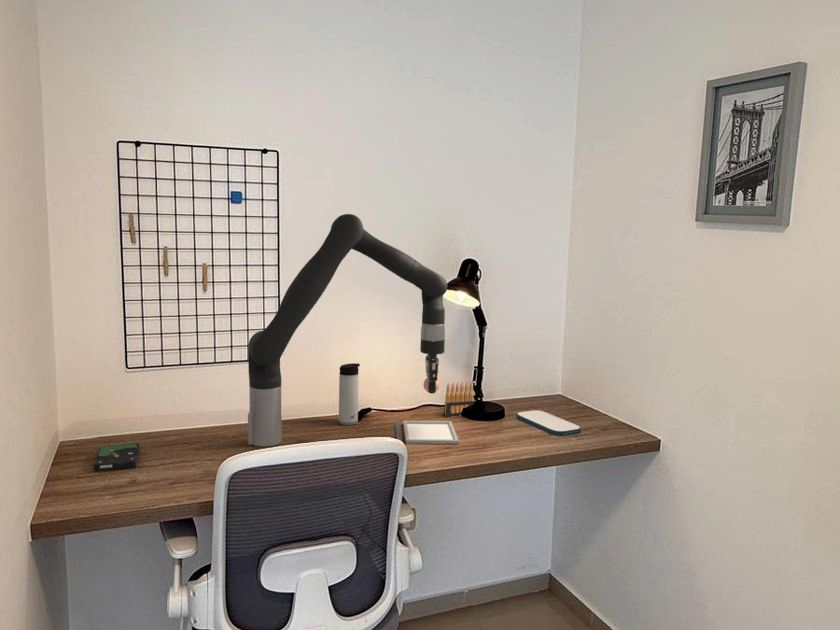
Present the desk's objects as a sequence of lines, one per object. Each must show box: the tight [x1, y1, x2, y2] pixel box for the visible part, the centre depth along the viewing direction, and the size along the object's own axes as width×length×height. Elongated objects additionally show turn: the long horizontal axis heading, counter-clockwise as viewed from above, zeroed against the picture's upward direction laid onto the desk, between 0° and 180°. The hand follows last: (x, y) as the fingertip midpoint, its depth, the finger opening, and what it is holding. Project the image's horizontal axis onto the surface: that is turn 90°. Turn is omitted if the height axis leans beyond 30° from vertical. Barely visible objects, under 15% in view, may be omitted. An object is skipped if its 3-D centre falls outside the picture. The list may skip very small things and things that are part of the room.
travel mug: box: [338, 362, 361, 426], centre depth 219 cm, size 6×7×20 cm
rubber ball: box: [423, 377, 440, 393], centre depth 209 cm, size 5×5×5 cm
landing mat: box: [394, 420, 460, 445], centre depth 211 cm, size 19×22×1 cm
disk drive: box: [93, 442, 140, 473], centre depth 180 cm, size 10×3×15 cm
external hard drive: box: [516, 409, 581, 437], centre depth 225 cm, size 24×12×2 cm, turn 28°
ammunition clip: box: [443, 381, 475, 418], centre depth 232 cm, size 11×2×12 cm, turn 111°
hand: (431, 390), depth 209 cm, fingers closed on rubber ball, 5 cm apart
